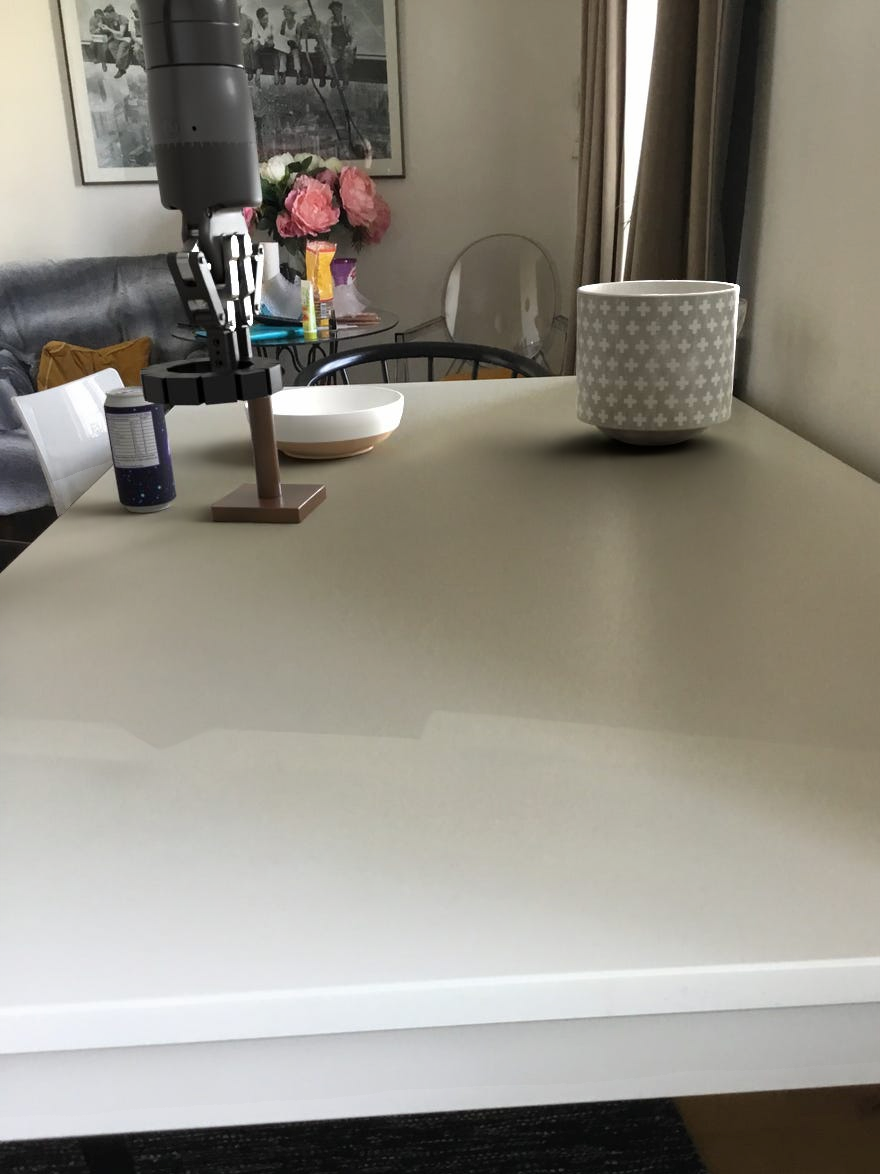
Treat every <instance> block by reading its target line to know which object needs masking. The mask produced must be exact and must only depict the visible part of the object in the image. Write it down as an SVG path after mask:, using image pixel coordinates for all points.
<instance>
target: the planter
mask: <svg viewBox="0 0 880 1174" xmlns="http://www.w3.org/2000/svg"><path fill="white" fill-rule="evenodd" d="M739 295H740V286H739V285H738V284H734V283H728V282H721V281H710V280H709V281H705V280H634V281H633V280H632V281H616V282H615V281H614V282H603V283H595V284H588V285H583V286H579V287H578V288H577V289H576V354H575V355H576V358H575V359H576V361H575V362H576V363H575V365H576V367H575V372H576V375H575V376H576V377H575V379H576V380H575V417H576V419H578V420H579V421H580V422H583V423H585V424H588V425H591V426H595V427H596V428H597V429H598V430H599V431H601V432H602V433H603V434H605V435H607V436H609V437H611V438H612V439H615V440H617V441H620V442H622V443H626V444H629V445H635V446H646V447H647V446H649V447H650V446H651V447H656V446H657V447H660V446H670V445H675V444H680V443H682V442H685V441H689V440H690V439H692V438H695V437H696V436H698V435H700V434H703V432H705V431H706V430H707V429H708V428H710V427H712V426H717V425H721V424H723V423H725V422H727V421H728V420H729V419H730V418H731V415H732V404H733V403H732V402H733V401H732V400H733V388H734V387H733V386H734V372H735V356H736V342H737V341H736V340H737V329H738V328H737V326H738V309H739V297H740V296H739Z"/></svg>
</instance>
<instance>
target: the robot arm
mask: <svg viewBox="0 0 880 1174" xmlns="http://www.w3.org/2000/svg"><path fill="white" fill-rule="evenodd" d="M134 2H135V5H136V9H137V12H138V19H139V27H140V37H141V44H142V45H141V46H142V51H143V58H144V64H145V65H144V66H145V70H146V73H145V74H146V84H147V85H146V87H147V90H146V92H147V93H146V96H147V100H146V101H147V112H148V120H149V127H150V134H151V141H152V149H153V156H154V164H155V170H156V177H157V184H158V191H159V198H160V203H161V206H162V207H163V208H164V209H165V210H167V211H180V213H181V232H180V233H181V234H180V235H181V237H180V238H181V242H182V248H181V249H180V251H169V252H167V254H166V263H167V264H166V265H167V267H168V269H169V272H170V275H171V278H172V280H173V282H174V285H175V287H176V288H175V289H176V290H177V293H178V297H179V298H180V301H181V304H182V306H183V308H184V312H185V314H186V317H187V319H188V322H189V325H191V326H195V327H196V326H199V328H200V330H201V331H202V332H205V335H206V343H207V351H208V357H209V359H210V367H211V373H212V372H224V371H232V370H238V369H240V364H239V356H249V357H253V351H252V343H251V342H252V341H251V334H250V333H251V332H250V327H249V326H252V325H253V322H254V321H253V320H254V317H253V316H258V315H260V312H261V302H262V301H261V300H262V288H263V286H262V285H263V277H264V276H263V274H264V263H265V247H264V245H263V243H261V242H259V243H257V242H256V243H253V242H251V237H250V235H249V228H248V225H247V222H246V218H245V214H244V208H256V207H259V206H260V205H261V203H262V202H263V192H262V183H261V172H260V164H259V155H258V154H259V153H258V144H257V135H256V125H255V117H254V107H253V101H252V95H251V92H250V88H249V84H248V79H247V73H246V70H245V69H246V64H245V63H246V62H245V56H244V55H245V54H244V46H243V44H244V43H243V35H242V29H241V27H242V26H241V17H240V9H239V8H240V7H239V3H238V0H134Z"/></svg>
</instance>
